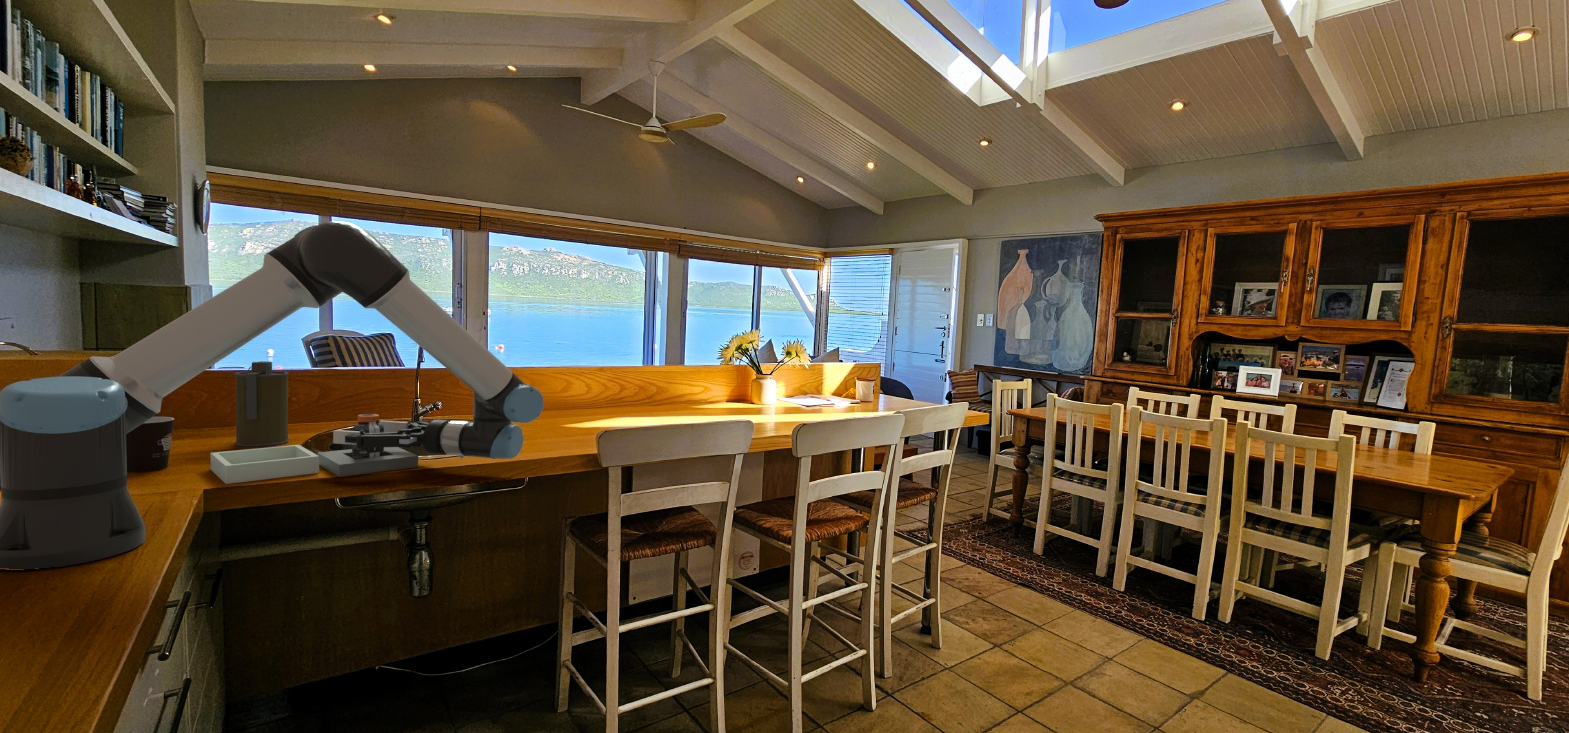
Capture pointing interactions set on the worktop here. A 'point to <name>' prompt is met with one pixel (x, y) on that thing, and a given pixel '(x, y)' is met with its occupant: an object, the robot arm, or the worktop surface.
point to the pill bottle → (368, 425)
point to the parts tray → (263, 463)
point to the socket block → (366, 461)
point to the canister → (261, 406)
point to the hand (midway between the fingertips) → (358, 431)
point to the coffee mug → (149, 445)
